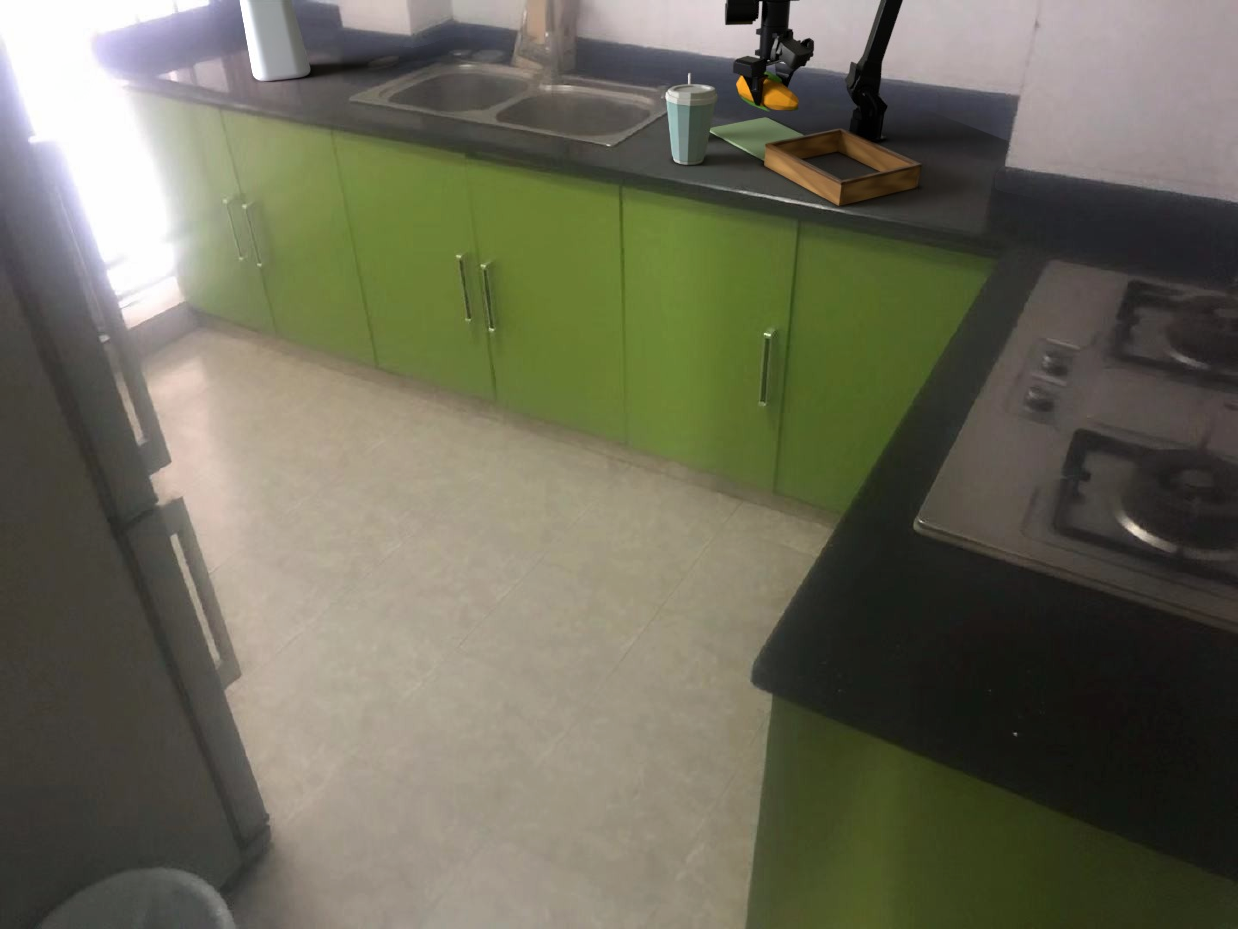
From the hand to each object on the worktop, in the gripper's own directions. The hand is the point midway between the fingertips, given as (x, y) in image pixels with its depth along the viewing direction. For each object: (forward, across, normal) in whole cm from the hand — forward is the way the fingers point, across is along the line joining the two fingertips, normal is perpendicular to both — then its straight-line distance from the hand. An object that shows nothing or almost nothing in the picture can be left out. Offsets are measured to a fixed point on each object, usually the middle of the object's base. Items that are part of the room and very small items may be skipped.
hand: (769, 101), depth 205 cm
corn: (+2, 0, 0) cm, 2 cm away
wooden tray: (+8, -7, -25) cm, 27 cm away
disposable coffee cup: (+8, -21, +3) cm, 23 cm away
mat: (+8, 0, 0) cm, 8 cm away
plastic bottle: (+8, -51, +131) cm, 141 cm away
